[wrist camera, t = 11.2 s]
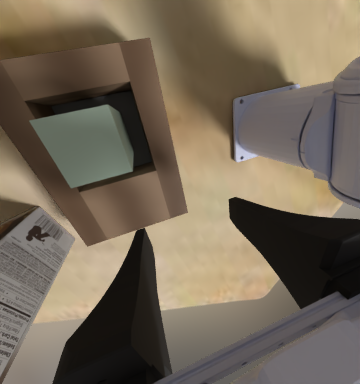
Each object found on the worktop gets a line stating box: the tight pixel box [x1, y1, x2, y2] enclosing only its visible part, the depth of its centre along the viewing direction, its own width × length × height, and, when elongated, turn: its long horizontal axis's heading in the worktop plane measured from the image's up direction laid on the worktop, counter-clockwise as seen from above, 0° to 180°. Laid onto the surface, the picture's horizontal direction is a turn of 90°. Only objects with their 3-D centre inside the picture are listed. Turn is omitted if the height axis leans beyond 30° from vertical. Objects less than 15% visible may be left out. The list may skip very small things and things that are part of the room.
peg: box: [29, 105, 134, 188], centre depth 12 cm, size 4×4×8 cm
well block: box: [0, 38, 188, 247], centre depth 15 cm, size 12×16×4 cm
